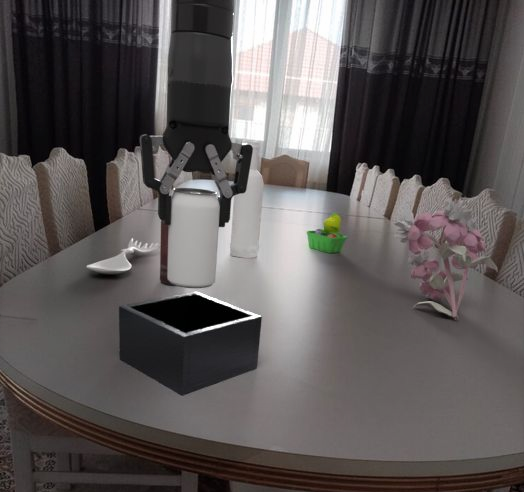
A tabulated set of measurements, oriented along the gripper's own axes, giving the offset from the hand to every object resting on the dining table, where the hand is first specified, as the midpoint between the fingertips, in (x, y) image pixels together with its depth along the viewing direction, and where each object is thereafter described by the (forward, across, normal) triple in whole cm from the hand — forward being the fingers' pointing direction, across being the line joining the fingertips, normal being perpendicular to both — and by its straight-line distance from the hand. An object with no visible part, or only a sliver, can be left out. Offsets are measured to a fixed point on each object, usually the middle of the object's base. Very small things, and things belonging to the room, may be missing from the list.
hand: (193, 224), depth 67 cm
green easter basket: (+20, -58, -82) cm, 102 cm away
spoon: (+20, +5, -59) cm, 62 cm away
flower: (+20, -59, -26) cm, 67 cm away
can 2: (+8, 0, 0) cm, 8 cm away
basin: (+20, 0, 0) cm, 20 cm away
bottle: (+20, -28, -72) cm, 79 cm away
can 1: (+20, -4, -43) cm, 47 cm away
